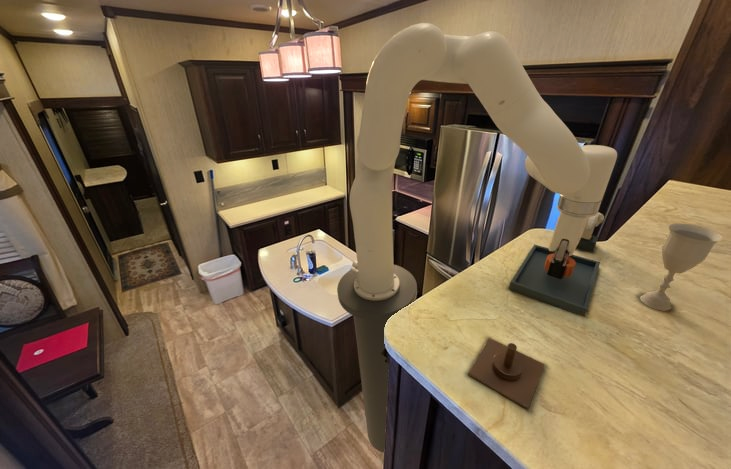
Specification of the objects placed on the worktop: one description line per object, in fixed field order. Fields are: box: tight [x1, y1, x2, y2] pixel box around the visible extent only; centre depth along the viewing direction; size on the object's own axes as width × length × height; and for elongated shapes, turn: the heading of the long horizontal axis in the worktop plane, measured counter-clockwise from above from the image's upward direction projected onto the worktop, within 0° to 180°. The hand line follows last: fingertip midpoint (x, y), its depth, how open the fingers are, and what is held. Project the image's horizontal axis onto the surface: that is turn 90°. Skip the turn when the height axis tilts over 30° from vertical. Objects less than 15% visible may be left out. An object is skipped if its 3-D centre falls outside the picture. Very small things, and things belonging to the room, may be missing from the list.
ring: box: [544, 253, 576, 277], centre depth 71 cm, size 6×6×3 cm
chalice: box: [639, 223, 723, 312], centre depth 60 cm, size 7×7×18 cm
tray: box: [508, 243, 601, 317], centre depth 73 cm, size 16×22×2 cm
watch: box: [576, 211, 605, 254], centre depth 83 cm, size 6×8×11 cm
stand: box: [467, 337, 545, 410], centre depth 51 cm, size 10×10×6 cm
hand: (557, 269), depth 72 cm, fingers closed on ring, 6 cm apart
